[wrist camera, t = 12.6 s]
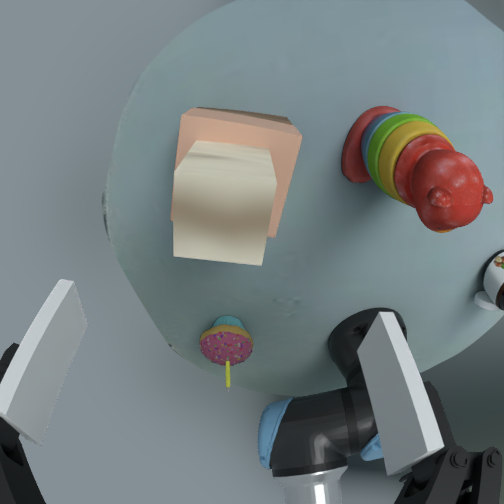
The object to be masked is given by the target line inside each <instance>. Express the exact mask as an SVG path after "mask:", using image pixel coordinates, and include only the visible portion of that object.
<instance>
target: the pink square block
mask: <svg viewBox="0 0 504 504" xmlns="http://www.w3.org/2000/svg"><path fill="white" fill-rule="evenodd" d="M302 137H303V136H302V135H301V134H300V132H299V131H298V130H297V129H296V127H295V126H293V125H289V124H285V123H280V122H275V121H271V120H266V119H261V118H256V117H250V116H245V115H239V114H233V113H227V112H221V111H214V110H207V109H200V108H191V109H190V110H188V111H187V112H185V113H184V114H182V116H181V123H180V130H179V138H178V146H177V155H176V164H175V170H176V169H177V167H178V166H179V164H180V163H181V161H182V160H183V158H184V157H185V156H186V154H187V153H188V151H189V150H190V149H191V147H192V146H193V144H194V143H195V142H196V140H197V141H210V142H221V143H230V144H240V145H248V146H256V147H264V148H269V151H270V155H271V159H272V163H273V167H274V172H275V176H276V180H277V186H276V192H275V197H274V202H273V208H272V213H271V219H270V224H269V229H268V235H267V237H273V238H275V236H276V232H277V229H278V225H279V221H280V218H281V214H282V211H283V207H284V203H285V200H286V196H287V193H288V189H289V185H290V182H291V178H292V174H293V171H294V167H295V163H296V160H297V156H298V152H299V148H300V145H301V141H302ZM173 200H174V183H173V194H172V207H171V220H170V221H173Z"/></svg>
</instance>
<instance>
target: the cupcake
mask: <svg viewBox="0 0 504 504" xmlns="http://www.w3.org/2000/svg"><path fill="white" fill-rule="evenodd" d="M199 348H200V349H201V353H203V354H204V355H205V356H206V357H207V359H208V360H210V361H211V362H214V363H217V364H220V365H226V387H227V388H228V392H229V387H230V366H233V365H234V364H238V363H239V364H240V363H241V362H244V361H245V360H246V359H247V358H248V357H249V355H250V354H251V353H252V348H253V340H252V338H251V336H250V334H249V333H248V332H247V331H245V330H244V327H243V325H242V322H241V321H240V320H239V319H237V318H235V317H232V316H222V317H220V318H218V319H217V320H216V321H215V322H214V324H213V326H212V328H211V329H209V330H206V331H204V332H203V333H202V335H201V337H200V347H199Z"/></svg>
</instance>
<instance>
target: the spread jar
mask: <svg viewBox="0 0 504 504" xmlns="http://www.w3.org/2000/svg"><path fill="white" fill-rule="evenodd" d="M483 285H484V289H485V291H479V292H477V293H476V294H475V298H474V302H475V303H476V304H477V305H478V306H480V307H482V308H484V309H487V310H492V311H498V310H503V311H504V250H501V251H498V252H497V253H495V254H494V255H493V256H492V257H491V258H490V259H489V261H488V263H487V264H486V267H485V270H484V274H483Z"/></svg>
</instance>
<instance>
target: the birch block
mask: <svg viewBox="0 0 504 504" xmlns="http://www.w3.org/2000/svg"><path fill="white" fill-rule="evenodd" d="M276 186H277V180H276V176H275V172H274V167H273V163H272V159H271V155H270V151H269V148H264V147H256V146H248V145H240V144H230V143H221V142H210V141H197V140H196V142H195V143H194V144H193V146H192V147H191V149H190V150H189V151H188V153H187V154H186V156H185V157H184V158H183V160H182V161H181V163H180V164H179V166H178V167H177V169H176V170H175V171H174V200H173V246H174V256H176V257H185V258H194V259H204V260H213V261H222V262H232V263H242V264H251V265H261V266H262V261H263V256H264V251H265V245H266V240H267V235H268V229H269V224H270V219H271V213H272V208H273V202H274V197H275V192H276Z"/></svg>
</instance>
